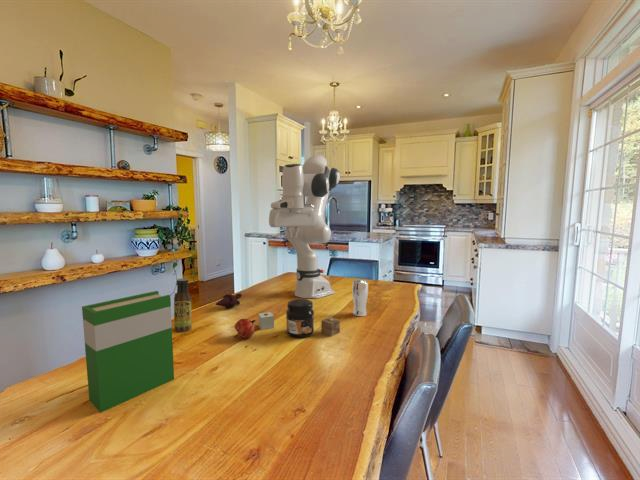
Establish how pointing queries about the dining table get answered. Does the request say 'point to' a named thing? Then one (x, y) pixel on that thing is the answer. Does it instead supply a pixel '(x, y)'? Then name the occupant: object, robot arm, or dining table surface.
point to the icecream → (229, 301)
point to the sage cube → (266, 320)
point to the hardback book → (127, 347)
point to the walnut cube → (330, 326)
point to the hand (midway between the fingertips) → (293, 237)
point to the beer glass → (360, 297)
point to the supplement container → (300, 318)
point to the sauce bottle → (182, 306)
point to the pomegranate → (245, 328)
